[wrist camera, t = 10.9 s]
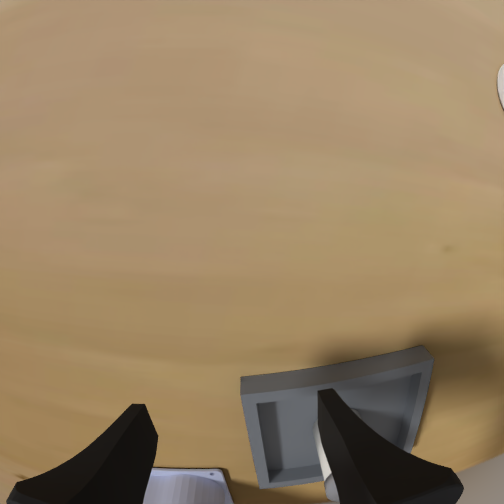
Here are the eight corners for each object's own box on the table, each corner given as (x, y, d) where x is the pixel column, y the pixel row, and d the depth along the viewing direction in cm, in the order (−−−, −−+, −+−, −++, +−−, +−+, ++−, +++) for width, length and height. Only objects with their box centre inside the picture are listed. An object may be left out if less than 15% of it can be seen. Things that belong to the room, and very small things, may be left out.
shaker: (311, 445, 25) (325, 506, 18) (310, 413, 24) (326, 479, 17) (360, 435, 25) (382, 492, 18) (364, 401, 24) (391, 462, 17)
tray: (259, 472, 27) (259, 489, 25) (240, 376, 23) (240, 394, 21) (401, 445, 27) (408, 459, 24) (422, 345, 23) (434, 358, 21)
